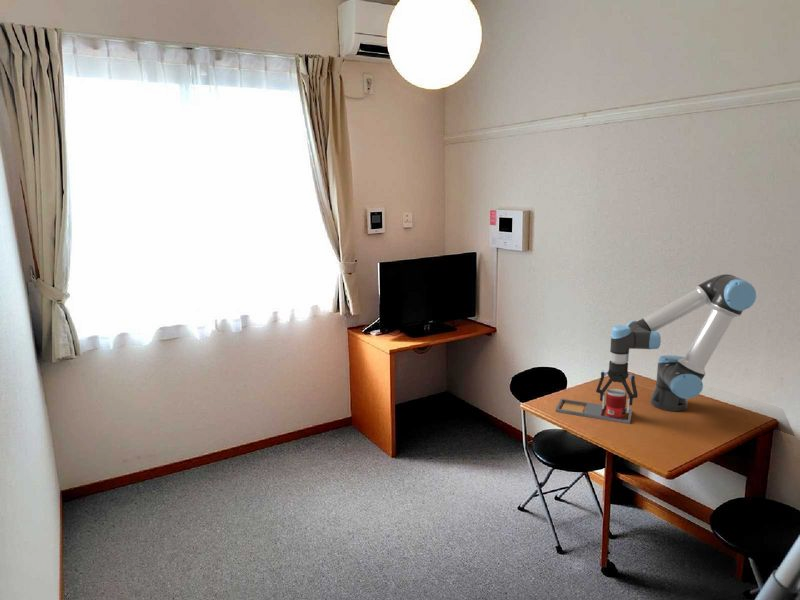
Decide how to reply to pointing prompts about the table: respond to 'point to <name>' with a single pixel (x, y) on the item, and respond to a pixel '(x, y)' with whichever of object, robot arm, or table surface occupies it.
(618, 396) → the canned food
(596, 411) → the rail frame
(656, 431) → the table surface
